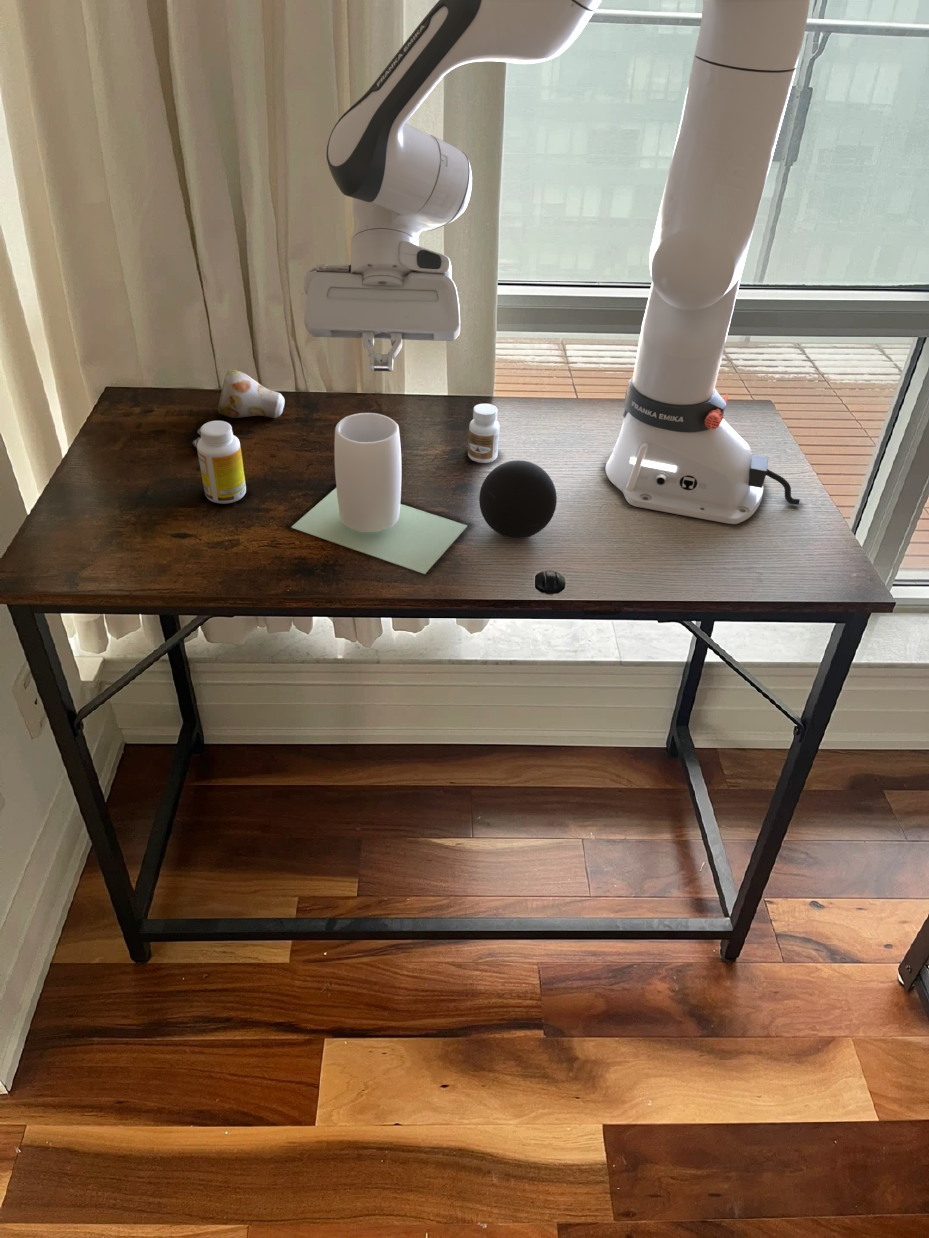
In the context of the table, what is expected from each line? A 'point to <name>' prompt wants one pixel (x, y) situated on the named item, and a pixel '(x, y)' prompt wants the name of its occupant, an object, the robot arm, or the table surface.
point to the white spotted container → (248, 398)
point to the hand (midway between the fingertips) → (381, 370)
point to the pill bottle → (483, 434)
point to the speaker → (517, 499)
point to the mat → (386, 534)
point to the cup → (368, 471)
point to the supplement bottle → (221, 463)
